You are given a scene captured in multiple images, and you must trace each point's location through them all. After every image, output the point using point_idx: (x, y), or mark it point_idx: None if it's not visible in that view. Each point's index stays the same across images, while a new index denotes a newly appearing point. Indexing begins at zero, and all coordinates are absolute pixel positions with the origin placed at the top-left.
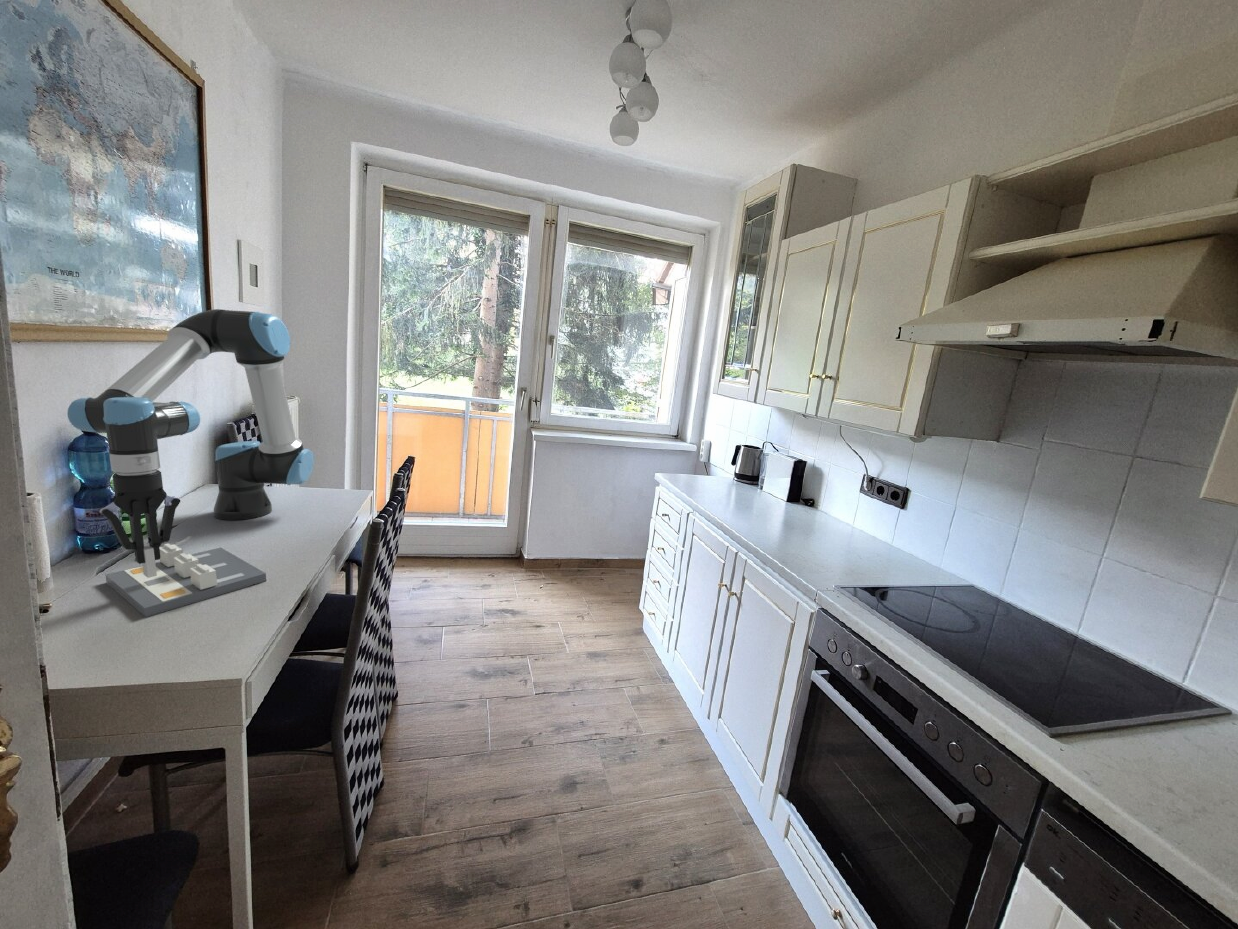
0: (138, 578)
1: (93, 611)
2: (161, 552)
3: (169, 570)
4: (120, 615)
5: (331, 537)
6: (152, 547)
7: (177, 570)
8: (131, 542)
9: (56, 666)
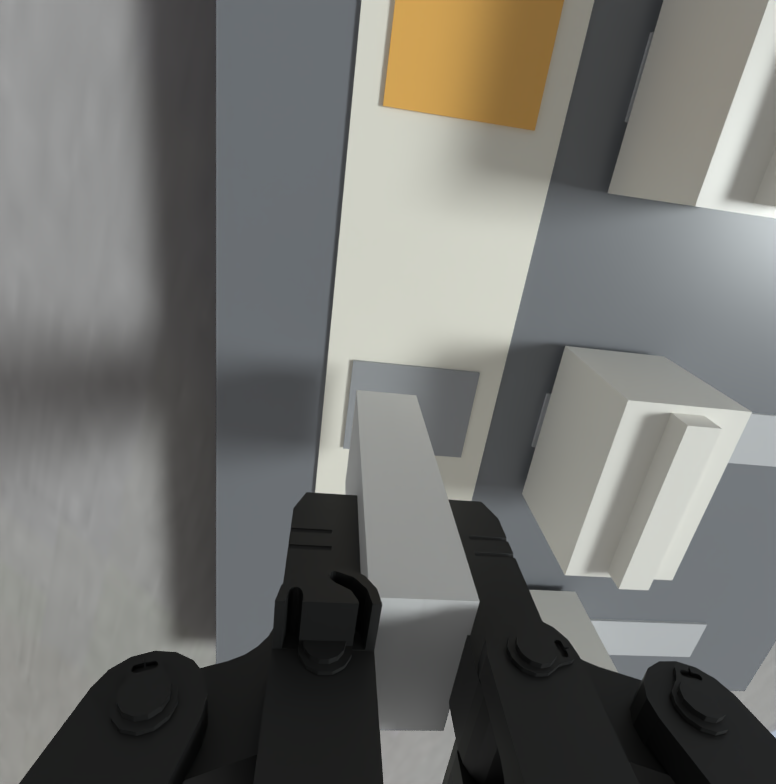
0: (361, 249)
1: (58, 403)
2: (737, 14)
3: (574, 254)
4: (153, 547)
5: None
6: (449, 708)
7: (560, 409)
8: (229, 772)
9: None
